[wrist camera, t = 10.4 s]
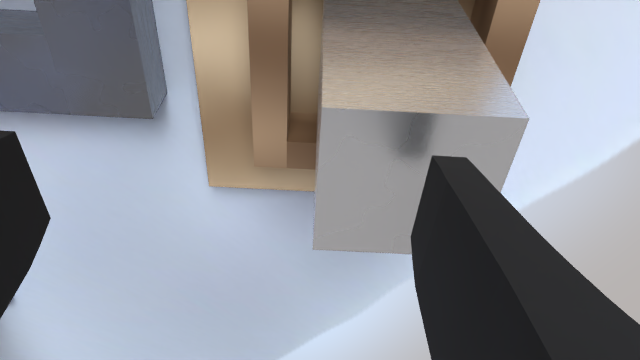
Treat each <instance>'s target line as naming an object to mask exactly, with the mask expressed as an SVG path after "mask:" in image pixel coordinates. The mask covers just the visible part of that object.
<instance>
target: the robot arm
mask: <svg viewBox="0 0 640 360" xmlns="http://www.w3.org/2000/svg"><path fill="white" fill-rule="evenodd" d="M49 221H50V215H49V213H48V211H47V208H46V206H45V203H44V201H43V198H42V196H41V194H40V191H39V189H38V186H37V184H36V181H35V179H34V176H33V174H32V172H31V169H30V167H29V164H28V162H27V159H26V157H25V154H24V152H23V150H22V147H21V145H20V142H19V140H18V137H17V135H16V132H15V131H0V318H1V317H2V315H3V313H4V312H5V310H6V308H7V307H8V305H9V304H10V302H11V300H12V298H13V296H14V295H15V293H16V291H17V290H18V288H19V286H20V285H21V283H22V281H23V279H24V278H25V276H26V274H27V272H28V271H29V269H30V267H31V265H32V262H33V260H34V258H35V256H36V253H37V251H38V249H39V247H40V244H41V242H42V239H43V236H44V234H45V231H46V229H47V226H48V224H49ZM411 248H412V260H413V270H414V279H415V287H416V292H417V297H418V301H419V306H420V311H421V315H422V319H423V324H424V329H425V333H426V337H427V341H428V346H429V350H430V355H431V359H432V360H640V325H639V324H638V323H637V322H636V321H635V320H633V319H632V318H631V317H630V316H628V315H627V314H626V313H625V312H624V311H623V310H621V309H620V308H619V307H618V306H617V305H616V304H614V303H613V302H612V301H611V300H610V299H609V298H607V297H606V296H605V295H604V294H603V293H602V292H601V291H600V290H599V289H597V288H596V287H595V286H594V285H593V284H592V283H591V282H590V281H589V280H587V279H586V278H585V277H584V276H583V275H582V274H581V273H580V272H579V271H578V270H576V269H575V268H574V267H573V266H572V265H571V264H570V263H569V262H568V261H567V260H566V259H565V258H564V257H563V256H562V255H561V254H559V252H558V251H556V250H555V249H554V248H553V247H552V246H551V245H550V244H549V243H548V242H547V241H546V240H545V239H544V238H543V237H542V236H541V235H540V234H539V233H538V232H537V231H536V230H535V229H534V228H533V227H532V226H531V225H530V224H529V223H528V222H527V220H526V219H525V218H524V217H523V216H521V214H520V213H519V212H518V211H517V210H516V209H515V208H514V207H513V206H512V205H511V204H510V203H509V202H508V201H507V199H506V198H505V197H504V196H503V195H502V194H501V193H500V192H499V191H498V190H497V189H496V188H495V187H494V186H493V185H492V183H491V182H490V181H489V180H488V179H487V178H486V177H485V176H484V175H483V174H482V173H481V172H480V171H479V170H478V169H477V168H476V167H475V165H474V164H473V163H472V162H471V161H470V160H469V159H468V158H466V157H452V156H434V155H432V157H431V161H430V165H429V168H428V172H427V176H426V180H425V184H424V187H423V191H422V195H421V199H420V203H419V206H418V210H417V214H416V218H415V222H414V225H413V229H412V233H411Z"/></svg>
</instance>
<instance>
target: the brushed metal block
mask: <svg viewBox="0 0 640 360" xmlns="http://www.w3.org/2000/svg"><path fill="white" fill-rule="evenodd" d="M528 121H529V117H528V115H527V114H526V112H525V110H524V109H523V107H522V106H521V104H520V102H519V101H518V99H517V97H516V96H515V94H514V92H513V91H512V89H511V87H510V86H509V84H508V82H507V81H506V79H505V77H504V76H503V74H502V72H501V71H500V69H499V68H498V66H497V64H496V63H495V61H494V59H493V58H492V56H491V54H490V53H489V51H488V49H487V48H486V46H485V44H484V43H483V41H482V39H481V38H480V36H479V35H478V33H477V31H476V30H475V28H474V26H473V25H472V23H471V21H470V20H469V18H468V16H467V15H466V13H465V11H464V10H463V8H462V6H461V5H460V3H459V2H458V0H323V15H322V32H321V49H320V67H319V84H318V110H317V139H316V168H315V196H314V225H313V250H333V251H355V252H376V253H397V254H412V248H411V233H412V229H413V225H414V222H415V218H416V214H417V210H418V206H419V203H420V199H421V195H422V191H423V187H424V184H425V180H426V176H427V172H428V168H429V165H430V161H431V157H432V155H434V156H452V157H466V158H468V159H469V160H470V161H471V162H472V163H473V164H474V165H475V167H476V168H477V169H478V170H479V171H480V172H481V173H482V174H483V175H484V176H485V177H486V178H487V179H488V180H489V181H490V182H491V183H492V185H493V186H494V187H495V188H496V189H497V190H498V191H499V192H501V190H502V187H503V185H504V182H505V180H506V177H507V175H508V172H509V169H510V167H511V164H512V162H513V159H514V157H515V154H516V152H517V149H518V146H519V144H520V141H521V139H522V136H523V134H524V131H525V129H526V126H527V123H528Z"/></svg>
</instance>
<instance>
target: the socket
mask: <svg viewBox="0 0 640 360" xmlns="http://www.w3.org/2000/svg"><path fill="white" fill-rule="evenodd" d="M34 3H35V7H36V10H37V11H20V10H3V9H0V111H13V112H32V113H51V114H69V115H88V116H107V117H126V118H144V119H153V118H154V116H155V114H156V112H157V110H158V108H159V107H160V105H161V103H162V101H163V99H164V97H165V95H166V93H167V88H166V83H165V77H164V71H163V65H162V59H161V53H160V47H159V41H158V35H157V29H156V23H155V17H154V11H153V6H152V0H34Z"/></svg>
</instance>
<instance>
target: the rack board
mask: <svg viewBox="0 0 640 360" xmlns="http://www.w3.org/2000/svg"><path fill="white" fill-rule="evenodd" d="M186 1H187V9H188V17H189V26H190V34H191V42H192V50H193V58H194V66H195V74H196V83H197V91H198V99H199V107H200V115H201V123H202V131H203V140H204V148H205V156H206V164H207V172H208V180H209V186H215V187H235V188H255V189H275V190H295V191H315V168H316V139H317V110H318V84H319V67H320V49H321V32H322V15H323V0H186ZM458 2H459V3H460V5H461V6H462V8H463V10H464V11H465V13H466V15H467V16H468V18H469V20H470V21H471V23H472V25H473V26H474V28H475V30H476V31H477V33H478V35H479V36H480V38H481V39H482V41H483V43H484V44H485V46H486V48H487V49H488V51H489V53H490V54H491V56H492V58H493V59H494V61H495V63H496V64H497V66H498V68H499V69H500V71H501V72H502V74H503V76H504V77H505V79H506V81H507V82H508V84H509V86H510V87H511V84H512V81H513V78H514V75H515V72H516V69H517V66H518V64H519V61H520V58H521V55H522V52H523V49H524V46H525V43H526V40H527V37H528V35H529V32H530V29H531V26H532V23H533V20H534V17H535V14H536V11H537V8H538V5H539V3H540V0H458Z"/></svg>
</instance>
